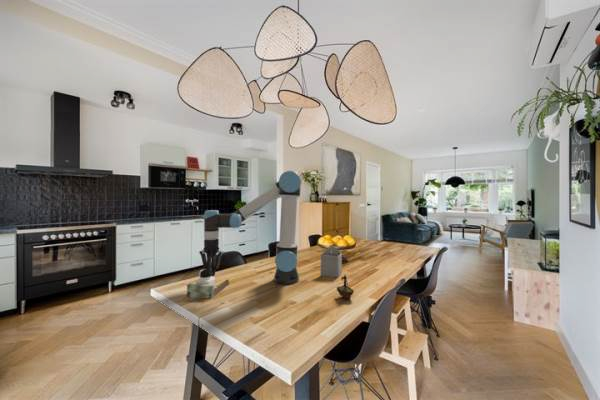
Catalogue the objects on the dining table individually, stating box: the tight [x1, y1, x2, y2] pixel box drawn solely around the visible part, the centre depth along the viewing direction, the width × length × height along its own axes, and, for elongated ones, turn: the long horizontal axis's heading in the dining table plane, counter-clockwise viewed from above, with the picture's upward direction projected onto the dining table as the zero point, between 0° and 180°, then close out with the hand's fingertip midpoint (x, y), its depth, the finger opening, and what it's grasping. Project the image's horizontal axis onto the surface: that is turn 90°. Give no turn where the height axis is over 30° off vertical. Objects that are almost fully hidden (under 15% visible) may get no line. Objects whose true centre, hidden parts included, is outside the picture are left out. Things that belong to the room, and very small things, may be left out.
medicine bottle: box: [195, 268, 216, 289], centre depth 125 cm, size 7×7×12 cm
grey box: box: [320, 244, 343, 279], centre depth 154 cm, size 16×8×19 cm, turn 116°
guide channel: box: [186, 279, 230, 299], centre depth 128 cm, size 13×20×6 cm, turn 172°
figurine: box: [336, 274, 355, 300], centre depth 120 cm, size 10×8×12 cm
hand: (211, 281), depth 130 cm, fingers closed
